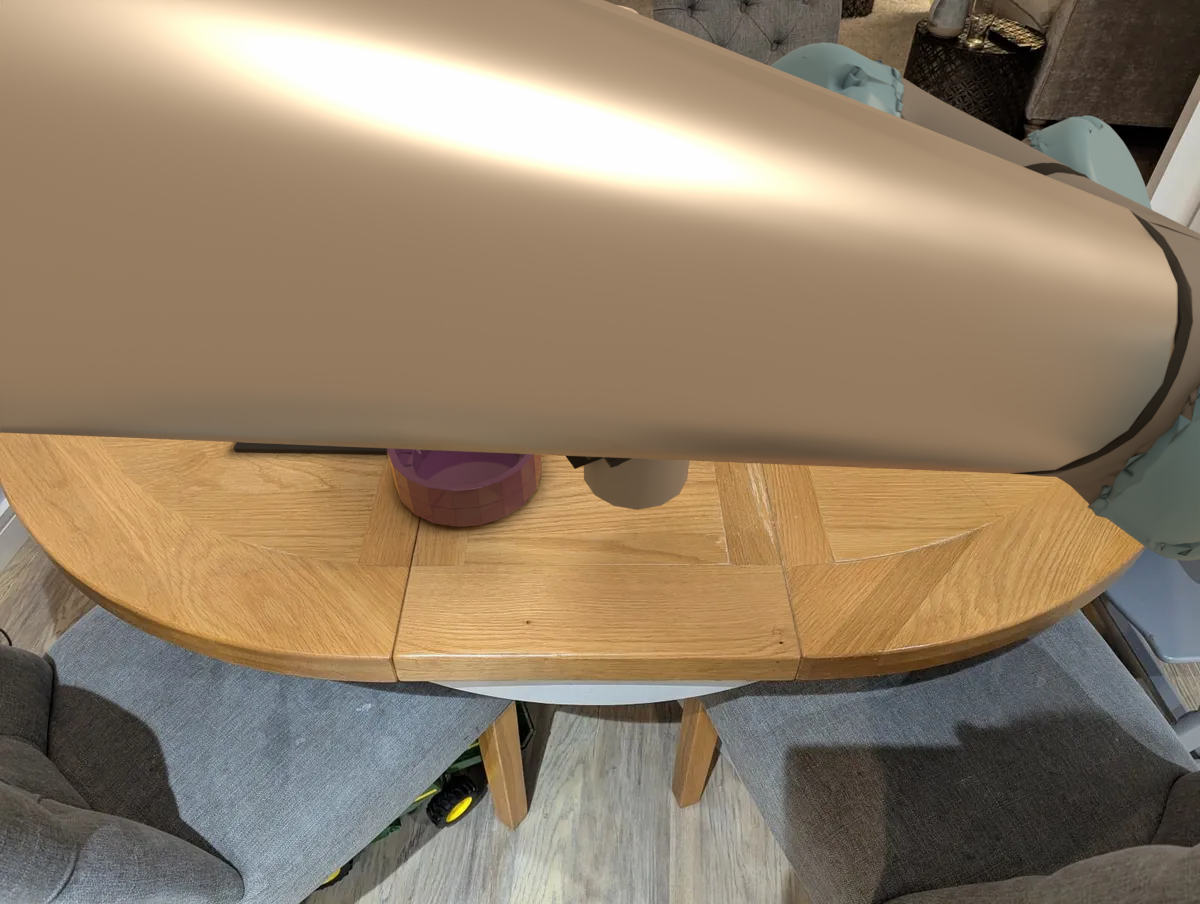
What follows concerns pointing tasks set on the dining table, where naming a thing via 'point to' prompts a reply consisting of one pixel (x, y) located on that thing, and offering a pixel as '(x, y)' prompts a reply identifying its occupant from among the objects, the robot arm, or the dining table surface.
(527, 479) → the plum bowl
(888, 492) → the dining table surface
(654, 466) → the cup
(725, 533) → the dining table surface
